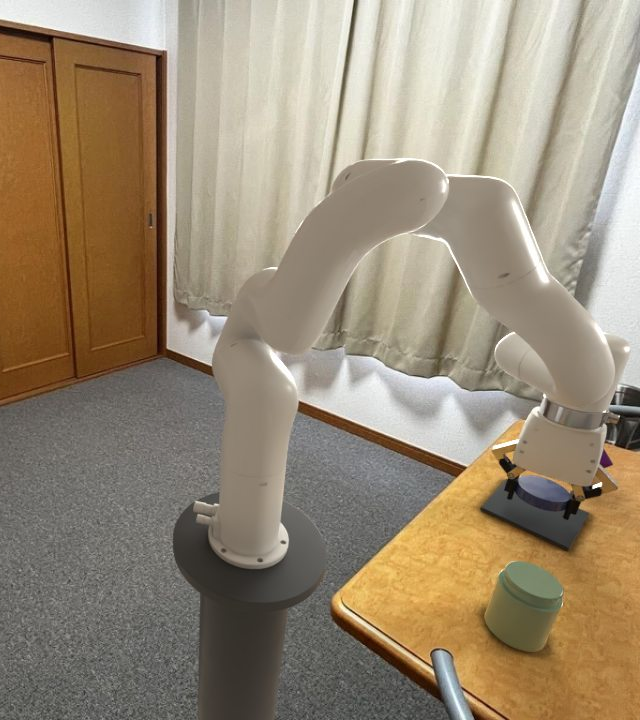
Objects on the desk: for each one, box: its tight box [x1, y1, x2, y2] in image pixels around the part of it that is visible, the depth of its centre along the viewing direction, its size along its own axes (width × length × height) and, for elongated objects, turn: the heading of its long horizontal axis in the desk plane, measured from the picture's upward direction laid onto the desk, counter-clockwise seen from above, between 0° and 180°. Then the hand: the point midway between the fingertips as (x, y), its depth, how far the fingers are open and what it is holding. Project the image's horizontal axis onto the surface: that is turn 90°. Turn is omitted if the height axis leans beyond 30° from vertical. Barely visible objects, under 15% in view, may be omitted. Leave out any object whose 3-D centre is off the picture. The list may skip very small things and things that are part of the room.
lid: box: [515, 474, 570, 512], centre depth 78 cm, size 7×7×2 cm
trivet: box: [480, 478, 590, 551], centre depth 80 cm, size 12×12×1 cm
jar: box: [483, 560, 565, 653], centre depth 59 cm, size 6×6×9 cm
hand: (537, 504), depth 79 cm, fingers closed on lid, 6 cm apart
